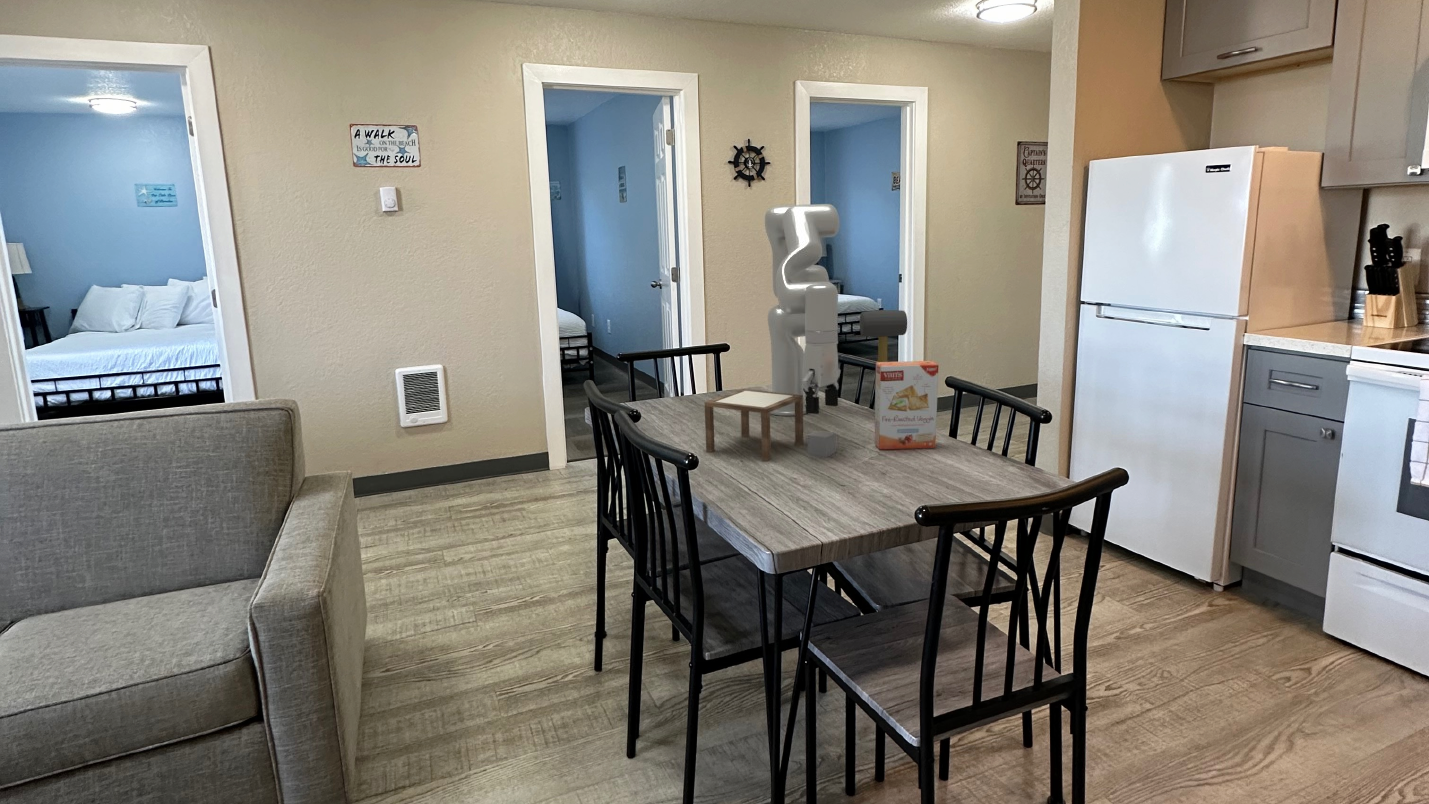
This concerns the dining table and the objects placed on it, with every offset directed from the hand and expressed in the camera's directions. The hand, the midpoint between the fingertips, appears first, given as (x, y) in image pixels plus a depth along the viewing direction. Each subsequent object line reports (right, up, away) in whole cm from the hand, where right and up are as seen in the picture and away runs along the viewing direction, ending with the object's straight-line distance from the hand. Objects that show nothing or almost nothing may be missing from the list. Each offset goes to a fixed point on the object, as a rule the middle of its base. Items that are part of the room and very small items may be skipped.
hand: (822, 409), depth 192 cm
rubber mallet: (+22, -2, +39) cm, 45 cm away
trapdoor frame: (-15, -10, +10) cm, 21 cm away
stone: (0, -11, +3) cm, 11 cm away
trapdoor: (-16, +2, +8) cm, 18 cm away
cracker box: (+21, -9, +6) cm, 24 cm away
